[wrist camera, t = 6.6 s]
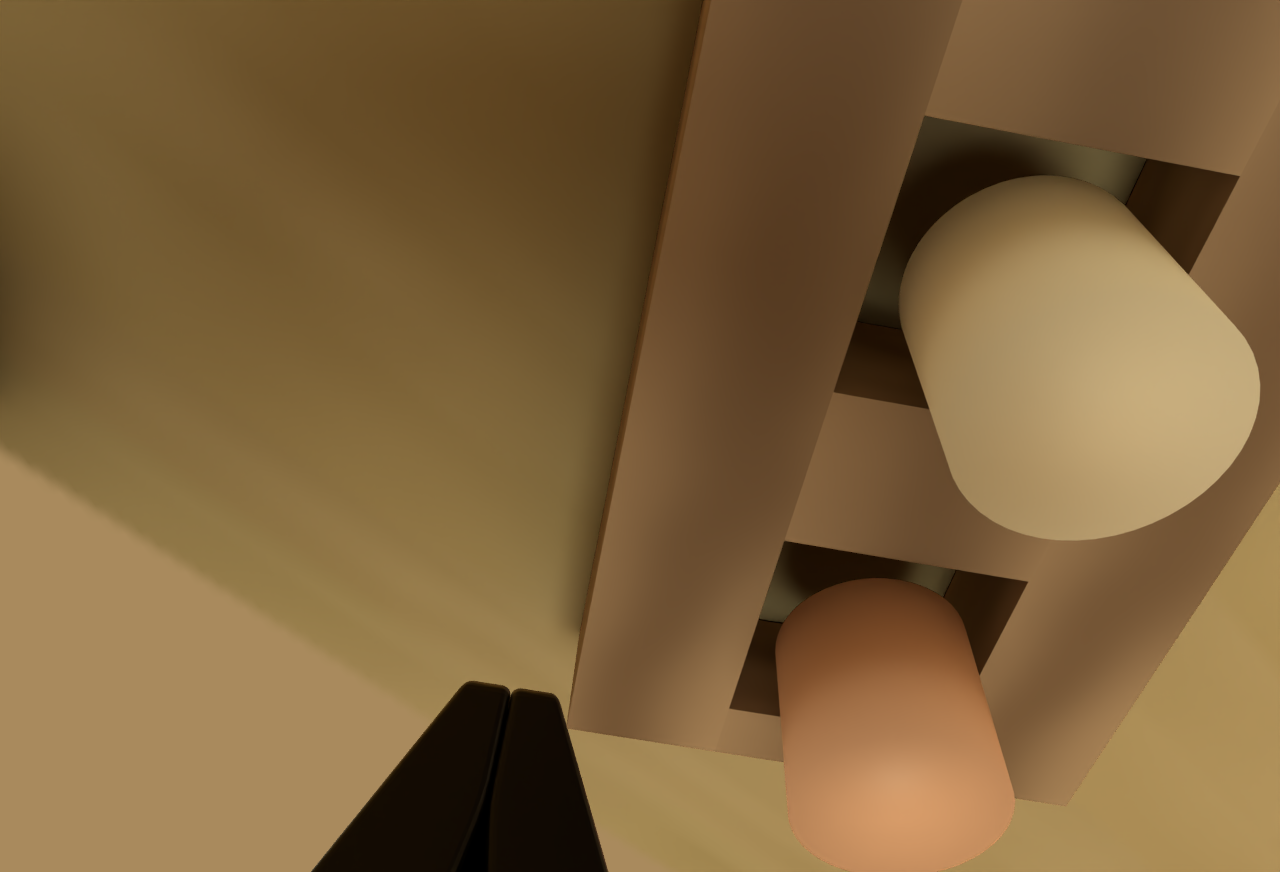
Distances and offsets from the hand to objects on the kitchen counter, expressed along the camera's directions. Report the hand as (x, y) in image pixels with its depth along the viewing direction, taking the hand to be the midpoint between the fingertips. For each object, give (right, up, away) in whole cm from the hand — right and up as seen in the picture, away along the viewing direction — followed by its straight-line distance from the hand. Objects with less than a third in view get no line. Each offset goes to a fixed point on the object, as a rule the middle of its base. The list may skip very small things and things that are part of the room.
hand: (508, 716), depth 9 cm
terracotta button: (+6, -2, +12) cm, 14 cm away
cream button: (+8, +5, +8) cm, 12 cm away
